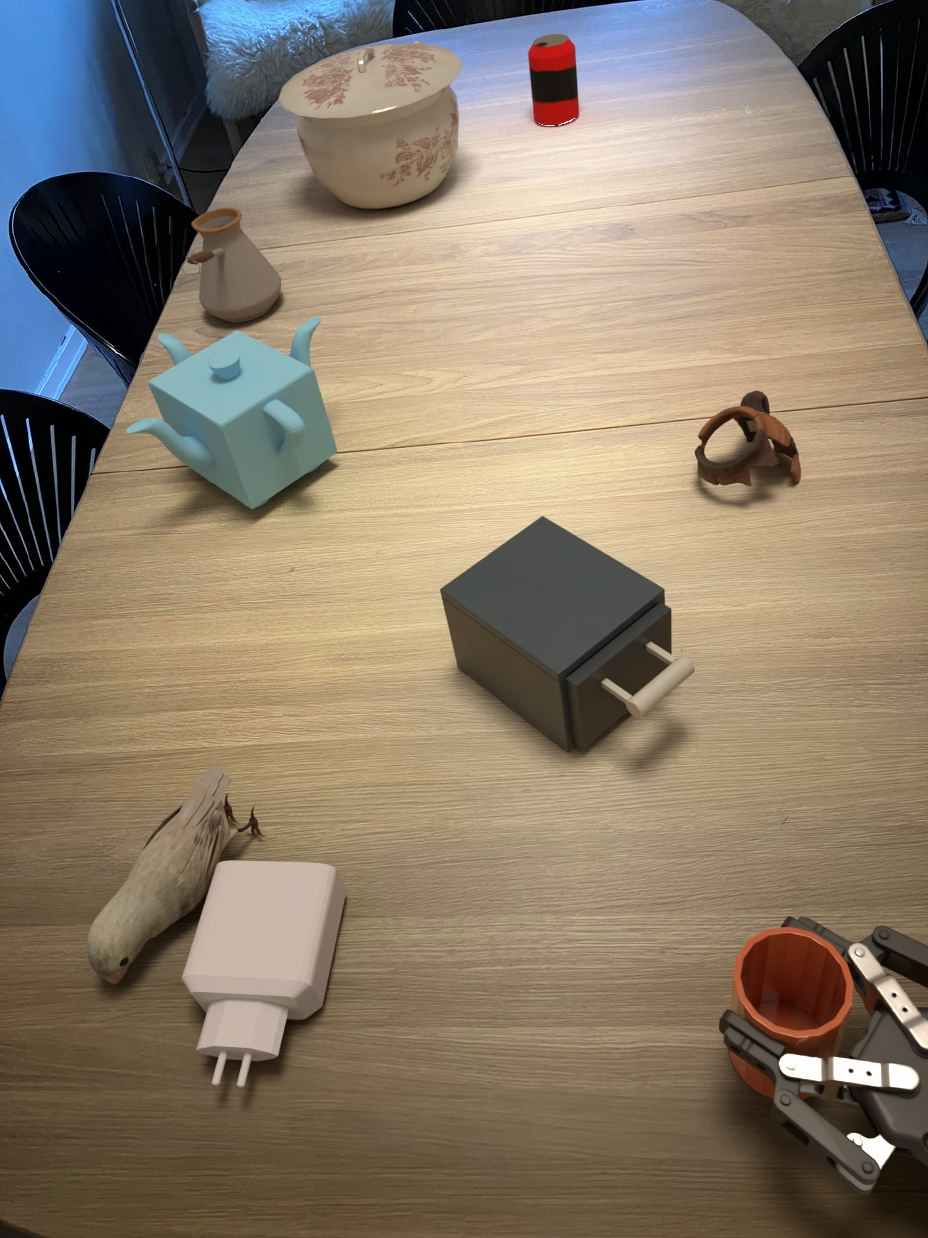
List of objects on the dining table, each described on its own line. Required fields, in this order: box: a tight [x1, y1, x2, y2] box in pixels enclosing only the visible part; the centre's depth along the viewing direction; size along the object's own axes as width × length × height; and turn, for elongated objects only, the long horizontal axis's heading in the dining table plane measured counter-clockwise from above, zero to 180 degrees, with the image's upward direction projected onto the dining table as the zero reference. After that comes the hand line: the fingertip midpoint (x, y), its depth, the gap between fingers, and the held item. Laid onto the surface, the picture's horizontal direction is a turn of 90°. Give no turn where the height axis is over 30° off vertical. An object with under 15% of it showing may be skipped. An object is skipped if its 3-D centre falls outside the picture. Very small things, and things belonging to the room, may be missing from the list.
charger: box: [181, 859, 347, 1089], centre depth 71 cm, size 5×9×15 cm
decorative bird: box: [86, 765, 266, 985], centre depth 76 cm, size 5×16×8 cm, turn 148°
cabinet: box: [439, 515, 666, 753], centre depth 86 cm, size 14×12×10 cm
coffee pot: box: [181, 207, 282, 323], centre depth 134 cm, size 21×12×15 cm, turn 179°
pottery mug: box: [694, 390, 802, 487], centre depth 103 cm, size 12×10×8 cm
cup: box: [728, 927, 855, 1101], centre depth 62 cm, size 6×6×10 cm
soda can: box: [527, 33, 580, 125], centre depth 169 cm, size 8×8×12 cm
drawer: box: [565, 602, 696, 750], centre depth 84 cm, size 17×11×8 cm, turn 41°
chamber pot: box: [278, 40, 463, 209], centre depth 156 cm, size 28×28×21 cm
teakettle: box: [125, 316, 339, 510], centre depth 111 cm, size 19×19×15 cm
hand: (754, 972), depth 61 cm, fingers closed on cup, 6 cm apart
